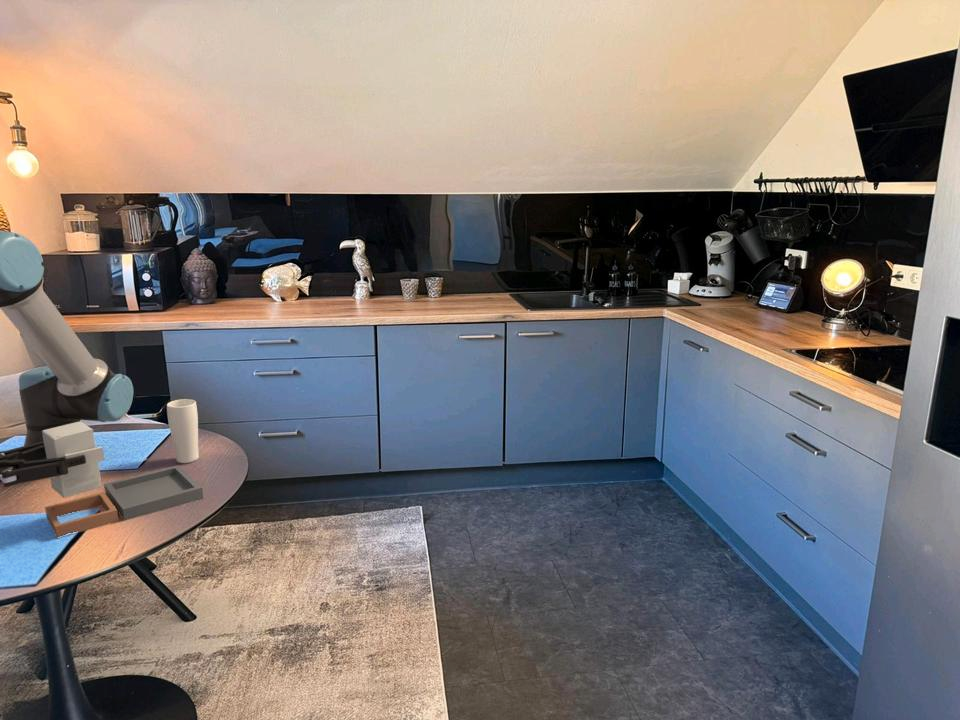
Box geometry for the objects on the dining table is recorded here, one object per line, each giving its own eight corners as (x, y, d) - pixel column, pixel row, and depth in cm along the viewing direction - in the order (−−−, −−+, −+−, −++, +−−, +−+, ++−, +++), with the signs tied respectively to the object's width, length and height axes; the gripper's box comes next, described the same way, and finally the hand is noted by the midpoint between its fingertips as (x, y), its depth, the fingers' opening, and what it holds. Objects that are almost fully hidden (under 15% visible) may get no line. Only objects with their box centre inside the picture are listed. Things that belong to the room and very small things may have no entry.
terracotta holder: (46, 518, 141) (44, 507, 141) (105, 502, 148) (103, 491, 148) (57, 538, 133) (55, 527, 133) (118, 521, 140) (117, 510, 140)
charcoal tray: (105, 494, 152) (103, 483, 152) (179, 474, 162) (178, 465, 162) (124, 520, 141) (122, 509, 140) (203, 497, 151) (202, 487, 150)
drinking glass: (191, 466, 167) (185, 408, 163) (167, 464, 168) (160, 406, 165) (207, 455, 174) (201, 399, 170) (183, 453, 175) (177, 398, 171)
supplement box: (103, 487, 139) (94, 429, 136) (62, 499, 134) (52, 439, 130) (90, 476, 144) (81, 420, 141) (50, 487, 139) (40, 429, 135)
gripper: (-41, 478, 134) (89, 448, 148) (-30, 517, 119) (113, 480, 133) (-49, 442, 132) (83, 416, 146) (-39, 477, 117) (108, 444, 131)
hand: (97, 447), depth 140 cm, fingers closed on supplement box, 8 cm apart
